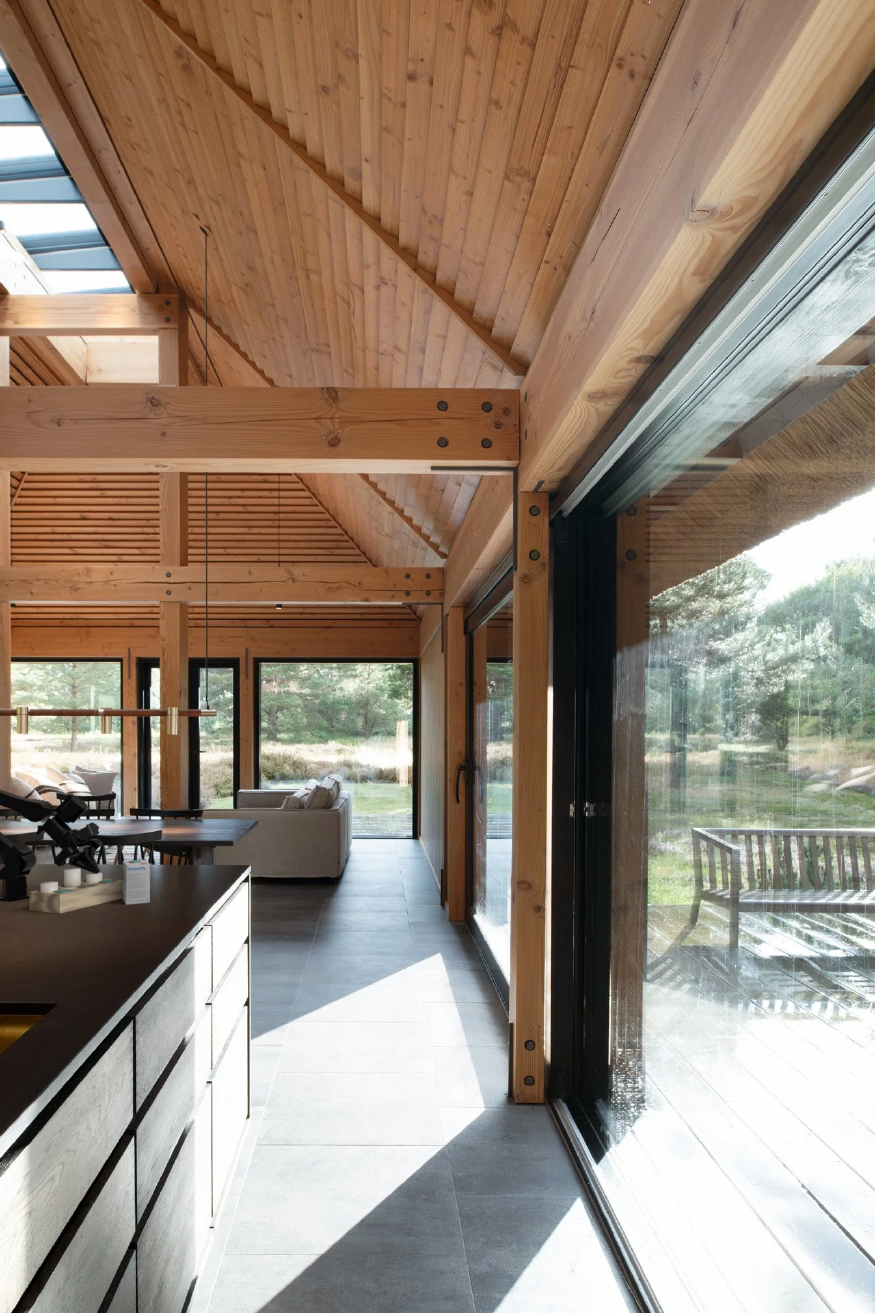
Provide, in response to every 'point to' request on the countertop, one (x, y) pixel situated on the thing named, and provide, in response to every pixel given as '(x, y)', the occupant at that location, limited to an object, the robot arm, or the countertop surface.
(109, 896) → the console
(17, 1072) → the countertop surface
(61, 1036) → the countertop surface
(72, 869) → the button
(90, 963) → the countertop surface
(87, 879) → the button
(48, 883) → the button
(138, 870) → the light bulb box
